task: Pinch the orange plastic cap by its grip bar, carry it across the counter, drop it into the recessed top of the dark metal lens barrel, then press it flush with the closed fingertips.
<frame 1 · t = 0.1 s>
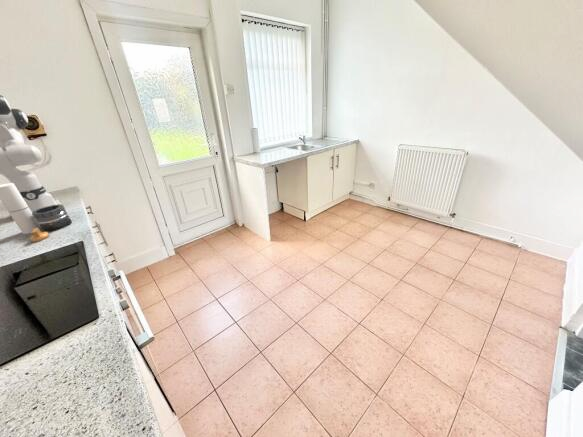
cap: (40, 238, 117), on the table
barrel: (57, 225, 128), on the table
cylindrical container: (32, 230, 125), on the table
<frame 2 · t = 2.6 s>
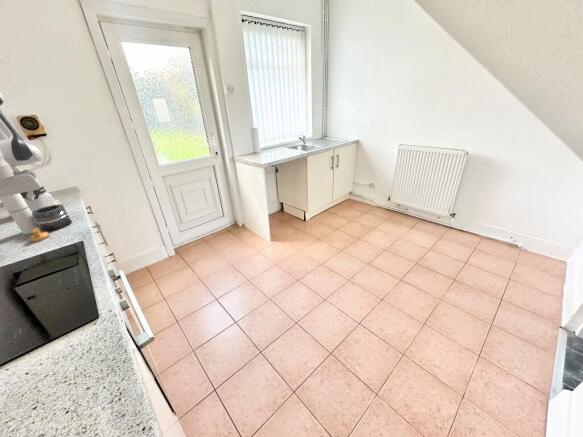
hand: (18, 203, 108), 19 cm above the table, tool pointing down, fingers open, 8 cm apart
nothing on the table moved.
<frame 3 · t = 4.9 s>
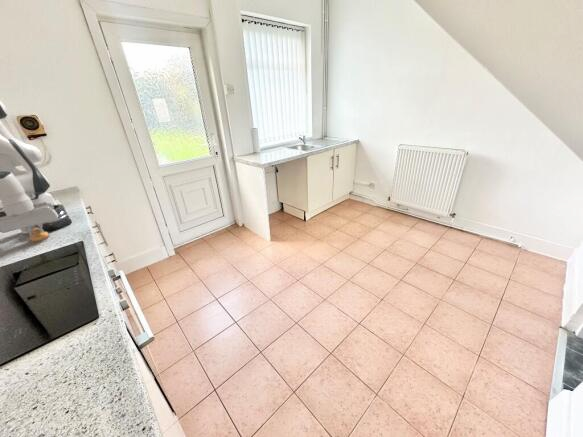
hand: (37, 233, 115), 3 cm above the table, tool pointing down, fingers closed on cap
cap: (40, 238, 117), on the table, touching gripper
cylindrical container: (32, 230, 125), on the table, touching arm
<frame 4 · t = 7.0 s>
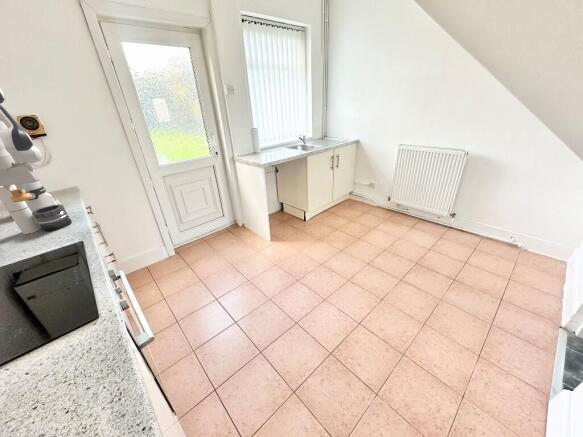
hand: (19, 193, 110), 22 cm above the table, tool pointing down, fingers closed on cap
cap: (23, 199, 111), point 19 cm above the table, touching gripper
cylindrical container: (32, 230, 125), on the table
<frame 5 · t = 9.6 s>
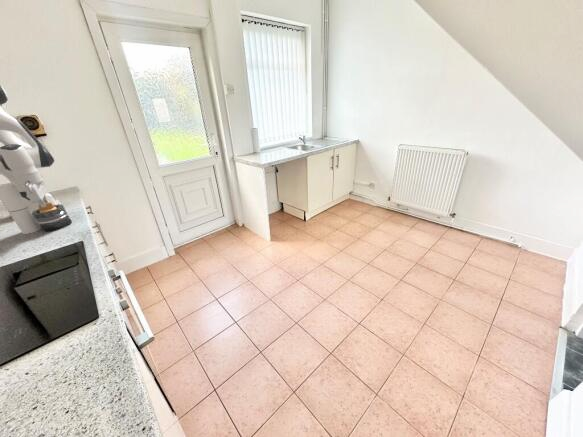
hand: (45, 205, 122), 12 cm above the table, tool pointing down, fingers open, 5 cm apart
cap: (49, 212, 124), point 8 cm above the table, touching barrel
everything else where it was.
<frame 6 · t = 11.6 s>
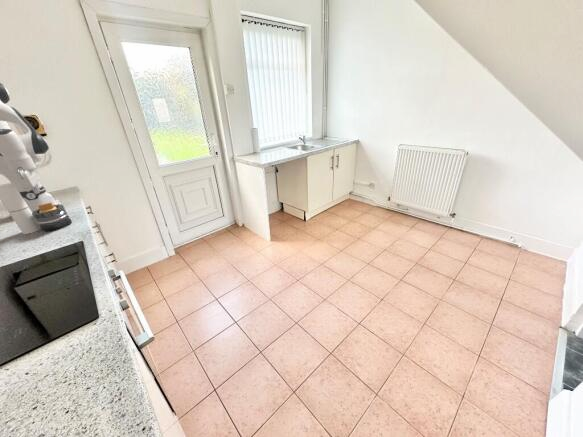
hand: (38, 192, 119), 19 cm above the table, tool pointing down, fingers closed
nothing on the table moved.
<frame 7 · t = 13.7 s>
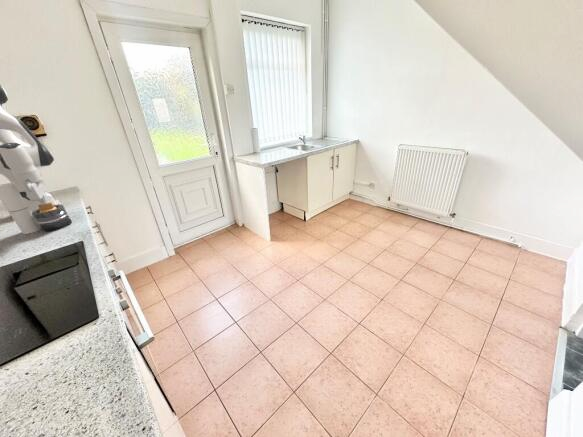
hand: (44, 204, 122), 13 cm above the table, tool pointing down, fingers closed, pressing on cap
cap: (49, 212, 124), point 8 cm above the table, touching barrel, gripper
everything else where it was.
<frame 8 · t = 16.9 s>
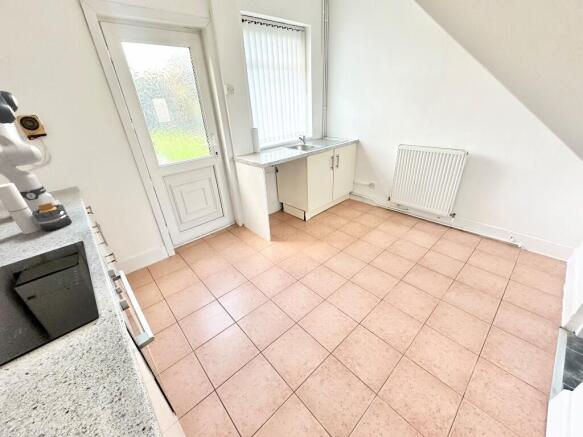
cap: (49, 212, 124), point 8 cm above the table, touching barrel
everything else where it was.
at the end: cap 0.0 cm off-centre on the barrel, point 8.0 cm above the barrel's base; cap tilted 0°; the gripper is holding nothing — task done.
